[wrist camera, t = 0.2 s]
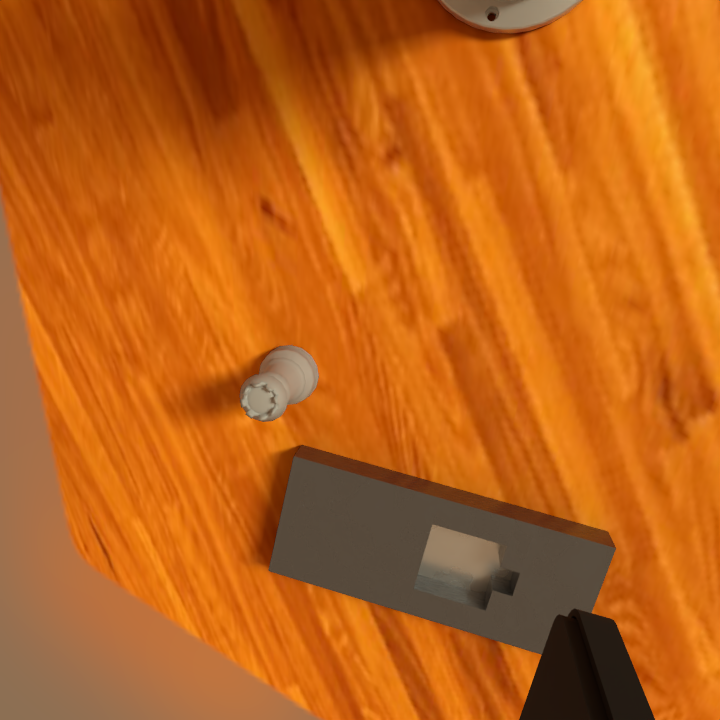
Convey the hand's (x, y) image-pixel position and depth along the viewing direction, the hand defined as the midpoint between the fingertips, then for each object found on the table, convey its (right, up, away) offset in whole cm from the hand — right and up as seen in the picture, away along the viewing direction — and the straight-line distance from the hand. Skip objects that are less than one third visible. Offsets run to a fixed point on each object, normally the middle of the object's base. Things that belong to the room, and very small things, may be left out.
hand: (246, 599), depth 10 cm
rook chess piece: (-3, +3, +38) cm, 38 cm away
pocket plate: (+8, -11, +39) cm, 41 cm away
